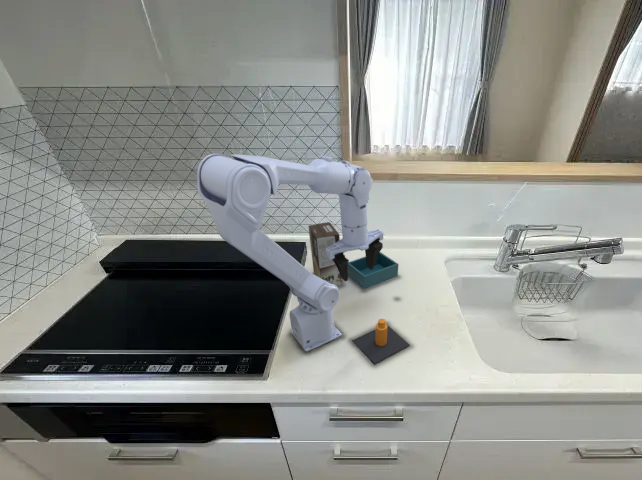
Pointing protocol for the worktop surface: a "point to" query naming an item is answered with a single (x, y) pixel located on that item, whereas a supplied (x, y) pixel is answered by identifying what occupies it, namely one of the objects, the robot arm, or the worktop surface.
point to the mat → (380, 352)
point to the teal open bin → (368, 277)
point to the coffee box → (324, 252)
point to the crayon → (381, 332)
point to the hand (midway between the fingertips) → (357, 273)
